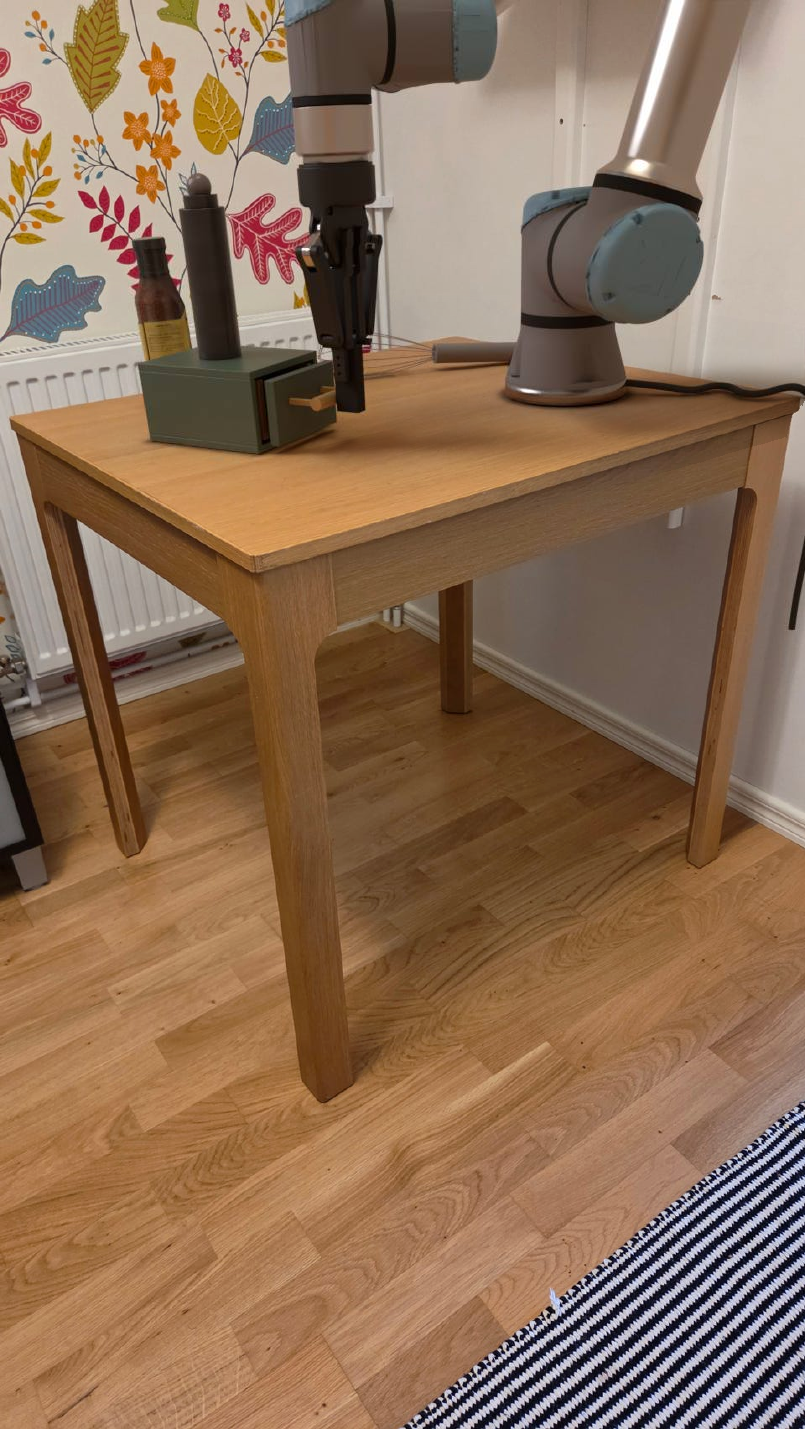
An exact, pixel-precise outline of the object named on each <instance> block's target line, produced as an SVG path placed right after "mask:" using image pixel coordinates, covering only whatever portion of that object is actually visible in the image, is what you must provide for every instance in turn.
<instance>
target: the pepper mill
mask: <svg viewBox="0 0 805 1429" xmlns="http://www.w3.org/2000/svg"><path fill="white" fill-rule="evenodd" d="M185 188H186V192H187V194H183V195H182V201H183V207H180V208H178V215H179V223H180V229H181V237H182V244H183V245H182V246H183V251H184V259H185V265H186V273H187V280H188V289H189V295H190V303H191V309H192V310H191V311H192V316H193V317H192V318H193V324H194V332H195V338H196V347H198V354H199V358H200V359H202V360H227V359H233V358H237V357H240V356H241V355H242V352H241V346H242V344H241V336H240V327H239V318H238V308H237V302H236V301H237V300H236V292H235V283H234V276H233V266H232V259H231V258H232V257H231V251H230V250H231V249H230V242H229V233H228V224H227V216H226V206H224V205H220V204H219V197H218V193H212V190H213V189H212V183H211V180H210V178H209V177H208V176H207V175H205V174H204V173H201V172H195V173H192V174H191V175H189V177H188V178H187V180H186V182H185Z"/></svg>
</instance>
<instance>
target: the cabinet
mask: <svg viewBox="0 0 805 1429" xmlns="http://www.w3.org/2000/svg"><path fill="white" fill-rule="evenodd" d="M241 352H242V355H241V356H240V357H237V358H233V359H227V360H202V359H200V358H199V354H198V347H197V346H196V347H192V349H188V350H185V351H181V352H178V353H174V354H170V355H167V356H163V357H159V358H156V359H152V360H148V361H145V360H144V361H142V362H138V363H137V369H138V375H139V380H140V386H141V392H142V393H141V394H142V398H143V404H144V410H145V417H146V422H147V427H148V434H149V439H150V441H151V442H158V443H167V444H174V445H183V446H189V447H196V448H197V447H198V448H206V449H213V450H222V451H229V452H236V453H237V452H238V453H247V454H253V455H260V454H263V453H265V452H267V451H269V450H272V449H274V448H277V446H271V440H270V438H269V439H266V440H261V432H260V423H259V414H258V405H257V396H256V387H255V378H258V377H261V376H264V375H267V374H270V373H273V372H276V371H279V370H282V369H285V368H288V367H291V366H294V365H297V364H300V363H303V362H305V363H311V365H313V364H316V363H318V351H317V350H316V349H315V350H313V349H300V348H299V349H298V348H283V347H268V346H254V345H253V346H252V345H250V346H249V345H241Z"/></svg>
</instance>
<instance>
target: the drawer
mask: <svg viewBox="0 0 805 1429" xmlns="http://www.w3.org/2000/svg"><path fill="white" fill-rule="evenodd" d="M333 373H334V370H333V361H323V360H322V361H321V362H320V361H318V362H317V363H316V364H313V365H311V363H305V362H303V363H300V364H297V365H294V366H291V367H288V368H285V369H282V370H279V371H276V372H273V373H270V374H267V375H264V376H261V377H258V378H255V387H256V396H257V405H258V414H259V423H260V432H261V440H266V439H269V438H270V440H271V446H276V447H279V448H280V447H282V446H285V445H287V444H289V443H292V442H295V441H296V440H299V439H301V438H303V437H305V436H309V435H311V434H313V433H314V432H317V431H320V430H322V429H325V428H327V427H328V426H331V425H333V424H335V423H336V424H337V422H338V418H337V417H338V416H337V403H336V389H335V379H334V374H333Z"/></svg>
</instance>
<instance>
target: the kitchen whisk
mask: <svg viewBox="0 0 805 1429" xmlns="http://www.w3.org/2000/svg"><path fill="white" fill-rule="evenodd" d="M373 336H374V337H381V338H387V339H393V340H397V341H402V342H406V343H410V344H415V345H418V346H421V347H425V348H420V347H413V346H406V345H400V344H390V343H377V342H372V343H371V345H379V346H380V345H381V346H392V347H400V348H407V349H394V348H393V349H392V348H391V349H390V348H363V351H398V352H419V353H430V354H420V355H411V356H398V357H387V358H371V359H369V358H368V359H363V362H366V361H367V362H368V361H382V360H396V359H409V358H418V357H425V358H420V359H415V360H410V361H405V362H399V363H393V364H392V363H391V364H386V365H377V366H368V367H367V366H365V367H364V370H365V369H375V368H376V369H377V368H382V367H383V368H384V367H391V366H397V365H403V364H404V365H403V366H400V367H396V368H390V369H386V370H382V371H376V372H370V373H364V376H367V377H364V380H366V379H373V378H379V377H383V376H387V375H392V374H395V373H399V372H401V371H405V370H408V369H411V368H414V367H417V366H420V365H423V364H426V363H429V362H431V361H432V364H465V363H466V364H467V363H505V362H507V363H509V359H510V357H511V356H512V355H513V352H514V349H515V346H516V343H517V341H501V342H497V341H496V342H452V343H451V342H450V343H449V342H446V343H443V342H442V343H433V344H432V346H429V345H426V344H423V343H420V342H417V341H413V340H411V339H407V338H403V337H399V336H393V335H389V334H384V333H383V334H382V333H379V332H374V334H373V335H372V337H373ZM427 348H428V349H427ZM323 350H324V348H323V347H322V345H320V344H319V348H318V351H317V360H319V362H322V361H332V362H333V359H323V358H321V356H322V355H324V354H327V353H332V350H327V351H324V352H323ZM413 362H414V363H413ZM408 363H411V364H408ZM405 364H407V365H405ZM394 370H396V371H394ZM390 371H392V372H390ZM385 372H389V373H385ZM380 373H384V374H380ZM333 374H334V372H333ZM375 374H380V375H375ZM369 375H374V376H369Z"/></svg>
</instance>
